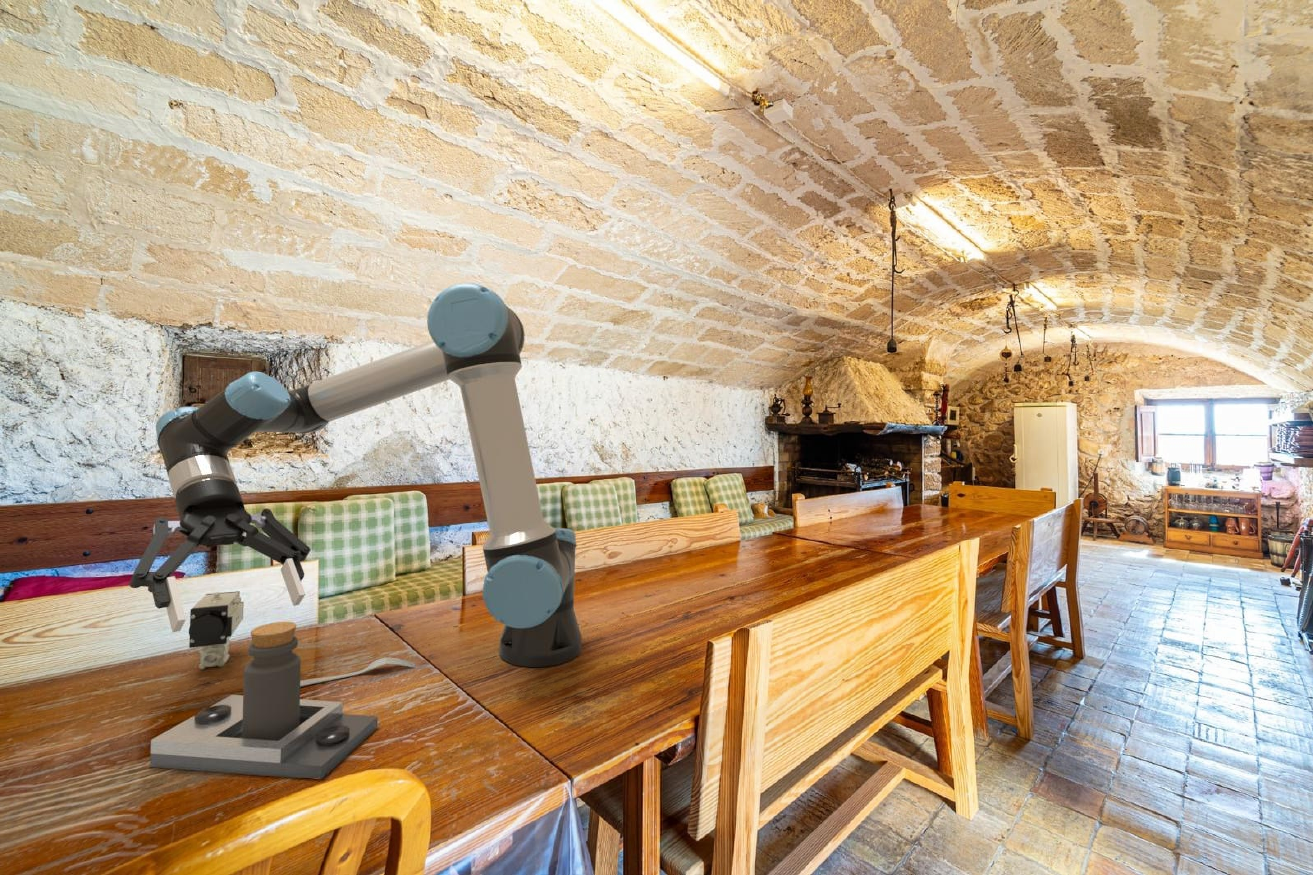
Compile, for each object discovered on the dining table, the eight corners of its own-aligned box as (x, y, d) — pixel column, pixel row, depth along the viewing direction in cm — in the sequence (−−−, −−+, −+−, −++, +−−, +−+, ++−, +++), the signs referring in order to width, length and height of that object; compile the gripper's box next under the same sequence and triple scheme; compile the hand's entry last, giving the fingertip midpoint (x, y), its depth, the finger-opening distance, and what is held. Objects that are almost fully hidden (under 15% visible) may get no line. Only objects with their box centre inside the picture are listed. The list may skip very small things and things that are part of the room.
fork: (273, 703, 83) (271, 686, 83) (418, 663, 93) (416, 648, 93) (271, 711, 80) (269, 693, 80) (420, 670, 91) (418, 654, 91)
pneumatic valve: (185, 681, 83) (187, 605, 83) (206, 653, 94) (208, 585, 94) (229, 674, 86) (232, 600, 86) (245, 648, 96) (247, 582, 96)
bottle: (261, 733, 70) (264, 620, 70) (308, 732, 70) (311, 619, 70) (230, 760, 64) (233, 636, 64) (281, 759, 65) (284, 636, 65)
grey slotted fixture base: (377, 728, 72) (378, 700, 72) (321, 780, 61) (322, 747, 61) (230, 717, 73) (231, 690, 73) (150, 767, 62) (151, 734, 62)
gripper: (290, 501, 93) (330, 605, 84) (83, 517, 72) (109, 656, 63) (306, 473, 90) (349, 577, 81) (94, 480, 69) (123, 621, 60)
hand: (244, 612), depth 72 cm, fingers open, 13 cm apart
